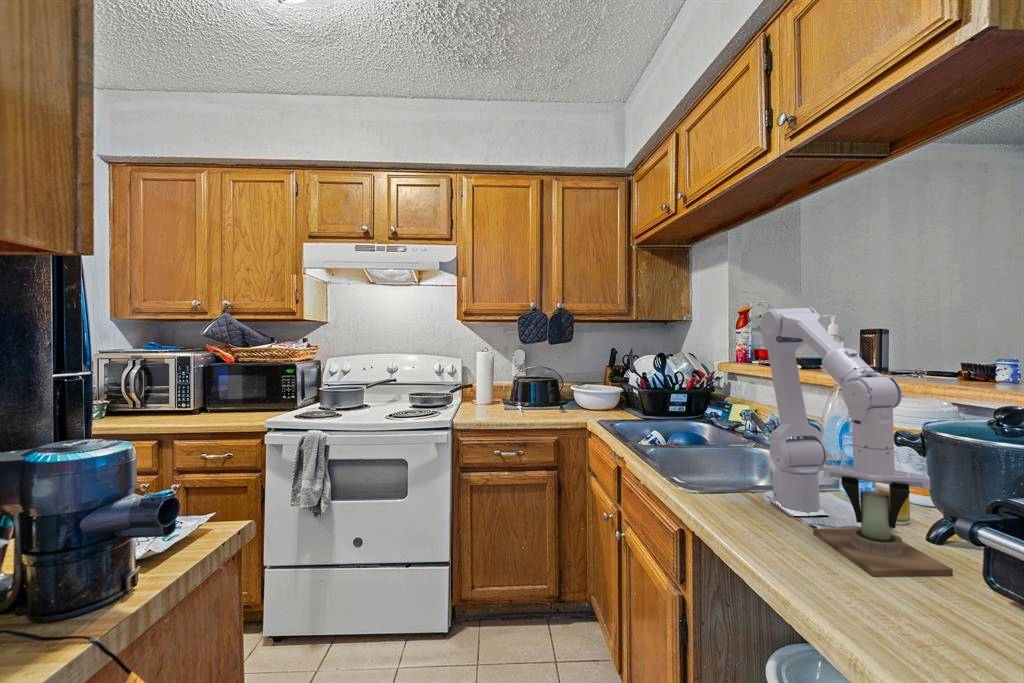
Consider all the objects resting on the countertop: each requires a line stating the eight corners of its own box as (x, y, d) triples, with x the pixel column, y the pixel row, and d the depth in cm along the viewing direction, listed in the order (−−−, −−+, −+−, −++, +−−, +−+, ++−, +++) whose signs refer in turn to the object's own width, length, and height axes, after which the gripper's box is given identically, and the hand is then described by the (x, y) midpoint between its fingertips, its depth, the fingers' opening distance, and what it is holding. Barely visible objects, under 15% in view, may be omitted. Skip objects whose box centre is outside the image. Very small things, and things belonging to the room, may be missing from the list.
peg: (856, 530, 84) (854, 491, 83) (879, 529, 83) (878, 490, 83) (872, 539, 80) (870, 498, 79) (896, 539, 79) (895, 498, 79)
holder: (813, 533, 90) (813, 518, 90) (878, 532, 89) (877, 517, 89) (873, 576, 74) (872, 557, 74) (952, 575, 73) (952, 556, 73)
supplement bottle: (916, 526, 92) (915, 476, 92) (885, 524, 93) (883, 476, 93) (899, 515, 97) (898, 468, 97) (870, 514, 98) (868, 468, 98)
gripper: (821, 446, 82) (824, 522, 82) (931, 455, 74) (934, 541, 74) (823, 438, 88) (826, 510, 88) (926, 446, 80) (928, 525, 80)
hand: (875, 523), depth 81 cm, fingers closed on peg, 4 cm apart
